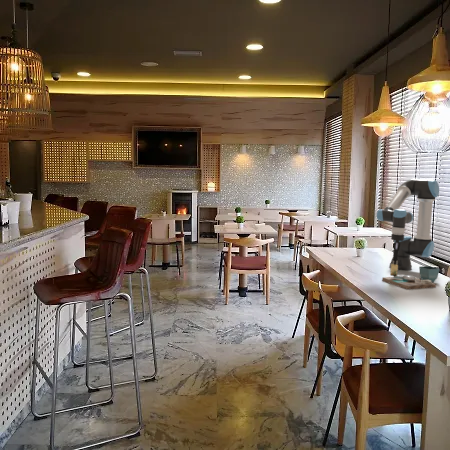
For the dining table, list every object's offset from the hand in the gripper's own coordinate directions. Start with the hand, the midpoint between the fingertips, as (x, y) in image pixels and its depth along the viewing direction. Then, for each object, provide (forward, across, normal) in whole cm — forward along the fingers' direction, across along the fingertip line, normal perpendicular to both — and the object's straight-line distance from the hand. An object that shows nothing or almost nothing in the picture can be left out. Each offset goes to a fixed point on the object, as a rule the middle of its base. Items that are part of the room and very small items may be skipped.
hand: (394, 270), depth 302 cm
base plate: (+7, -4, -9) cm, 12 cm away
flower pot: (+7, +11, -21) cm, 24 cm away
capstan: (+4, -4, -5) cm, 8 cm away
